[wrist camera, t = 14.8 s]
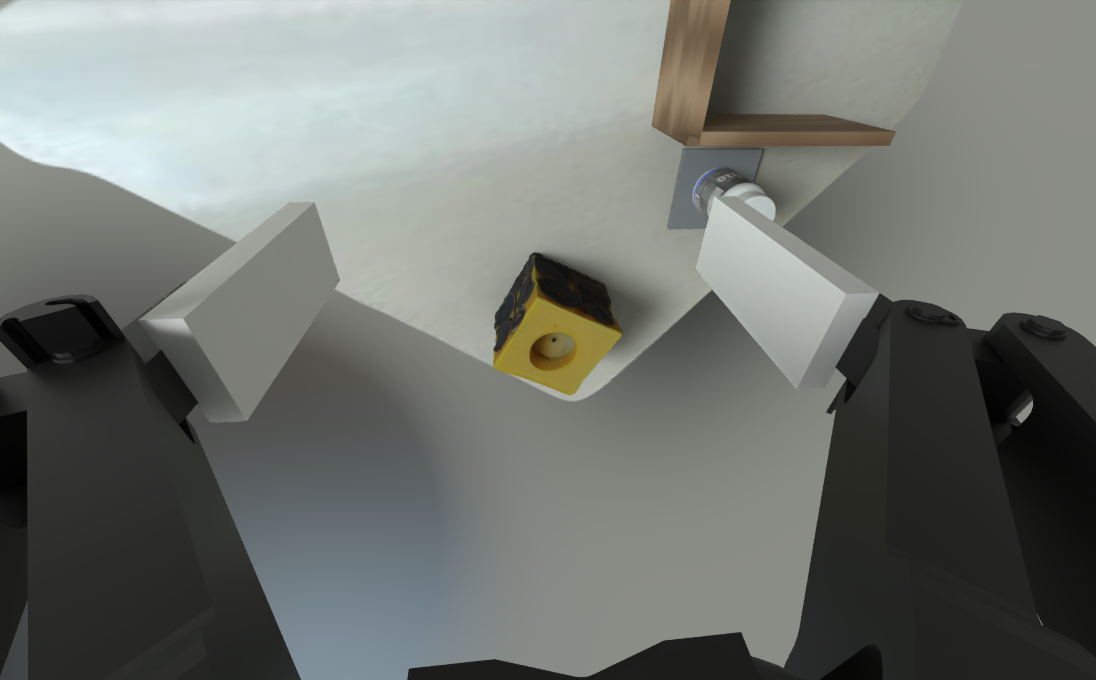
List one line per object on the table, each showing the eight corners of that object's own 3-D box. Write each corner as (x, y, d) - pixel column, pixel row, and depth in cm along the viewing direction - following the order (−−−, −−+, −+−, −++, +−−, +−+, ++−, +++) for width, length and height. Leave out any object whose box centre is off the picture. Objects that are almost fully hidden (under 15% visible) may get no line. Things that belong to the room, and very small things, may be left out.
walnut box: (683, -84, 30) (740, -122, 23) (894, -75, 32) (1009, -108, 24) (651, 126, 39) (686, 146, 31) (819, 126, 40) (889, 145, 33)
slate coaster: (682, 148, 40) (685, 150, 40) (759, 148, 41) (762, 149, 40) (667, 227, 45) (669, 229, 44) (736, 225, 45) (739, 227, 45)
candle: (606, 284, 49) (627, 333, 41) (563, 344, 53) (574, 398, 45) (532, 247, 45) (538, 293, 37) (492, 316, 50) (491, 369, 42)
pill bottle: (744, 169, 41) (791, 195, 35) (725, 214, 44) (765, 246, 37) (701, 162, 40) (741, 187, 34) (684, 209, 43) (718, 241, 36)
